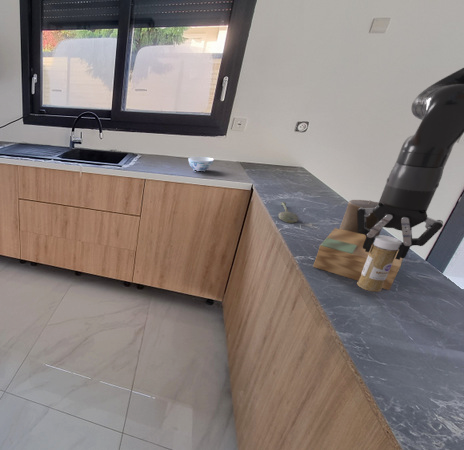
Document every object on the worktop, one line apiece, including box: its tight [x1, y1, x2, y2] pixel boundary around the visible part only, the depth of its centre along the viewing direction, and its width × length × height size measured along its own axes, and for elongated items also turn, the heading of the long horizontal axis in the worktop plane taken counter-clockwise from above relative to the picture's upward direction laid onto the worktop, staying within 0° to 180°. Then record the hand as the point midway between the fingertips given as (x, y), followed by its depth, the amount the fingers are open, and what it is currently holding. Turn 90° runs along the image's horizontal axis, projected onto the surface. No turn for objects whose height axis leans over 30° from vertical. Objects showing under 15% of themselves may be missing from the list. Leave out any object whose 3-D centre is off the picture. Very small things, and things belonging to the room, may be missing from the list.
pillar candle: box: [338, 199, 382, 237], centre depth 100 cm, size 10×10×15 cm
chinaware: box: [187, 156, 215, 172], centre depth 198 cm, size 15×15×8 cm
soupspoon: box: [278, 201, 299, 224], centre depth 128 cm, size 22×3×7 cm
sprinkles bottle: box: [356, 234, 403, 293], centre depth 75 cm, size 5×5×14 cm
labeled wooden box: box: [312, 227, 404, 291], centre depth 88 cm, size 16×18×7 cm
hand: (382, 254), depth 73 cm, fingers closed on sprinkles bottle, 4 cm apart
